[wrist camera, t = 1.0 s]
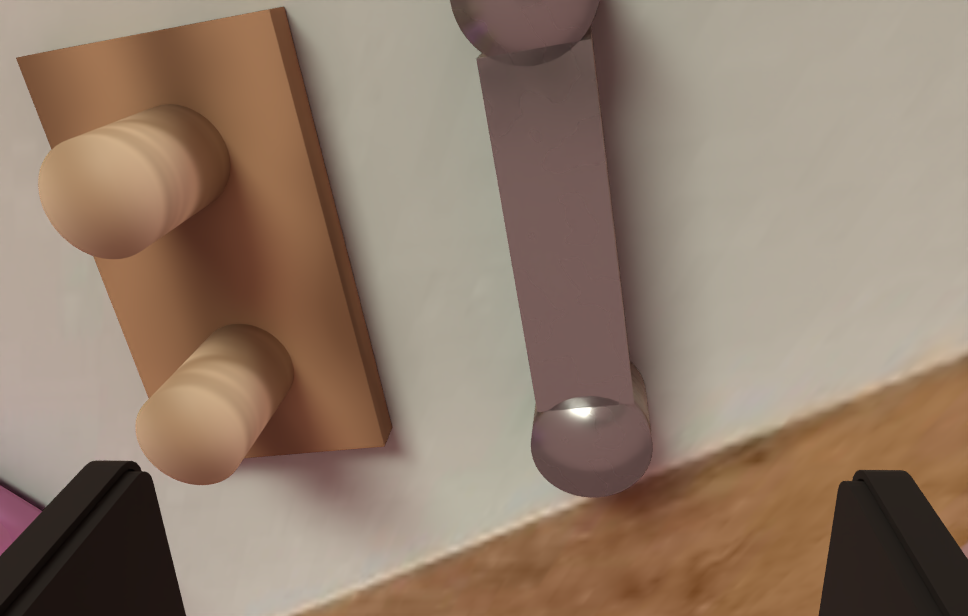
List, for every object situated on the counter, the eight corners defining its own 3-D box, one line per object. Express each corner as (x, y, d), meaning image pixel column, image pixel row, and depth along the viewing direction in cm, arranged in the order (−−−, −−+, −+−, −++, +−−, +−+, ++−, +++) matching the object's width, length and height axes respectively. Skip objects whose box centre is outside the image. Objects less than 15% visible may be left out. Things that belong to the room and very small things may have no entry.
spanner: (591, -106, 27) (591, -113, 23) (650, 436, 35) (657, 493, 31) (455, -79, 27) (435, -81, 24) (545, 444, 36) (540, 501, 32)
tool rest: (283, 6, 29) (199, 24, 23) (392, 427, 36) (350, 530, 30) (41, 52, 31) (-100, 81, 25) (189, 445, 38) (109, 546, 32)
